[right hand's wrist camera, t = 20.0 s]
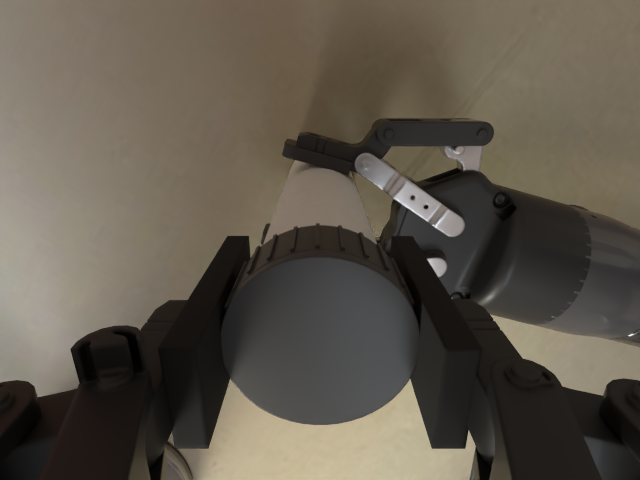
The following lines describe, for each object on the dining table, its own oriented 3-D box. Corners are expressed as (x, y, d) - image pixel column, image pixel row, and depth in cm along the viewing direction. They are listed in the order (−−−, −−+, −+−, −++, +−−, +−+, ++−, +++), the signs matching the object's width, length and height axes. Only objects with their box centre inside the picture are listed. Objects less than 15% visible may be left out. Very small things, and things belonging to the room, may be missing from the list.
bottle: (344, 213, 30) (380, 401, 12) (284, 203, 30) (231, 380, 12) (356, 153, 28) (420, 266, 10) (293, 142, 28) (247, 238, 10)
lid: (342, 396, 14) (347, 454, 12) (204, 323, 13) (180, 372, 10) (441, 281, 12) (467, 323, 10) (291, 186, 11) (285, 210, 9)
